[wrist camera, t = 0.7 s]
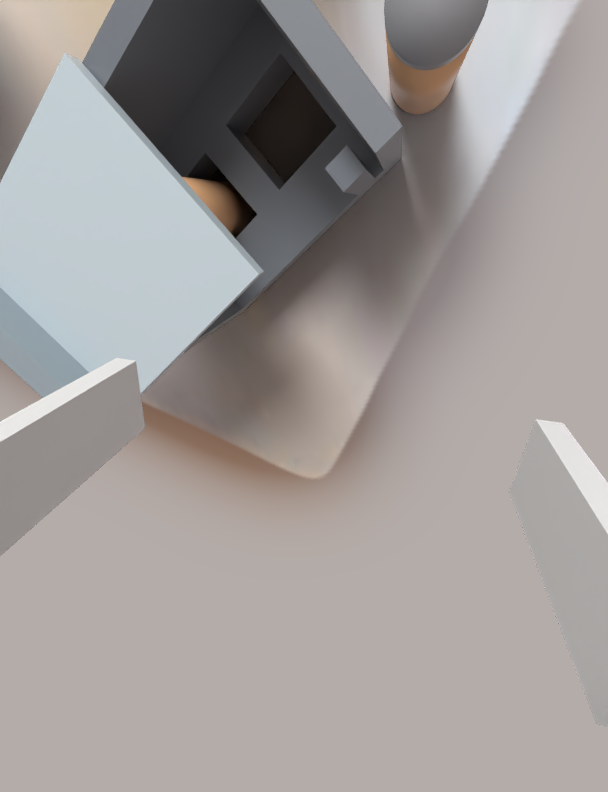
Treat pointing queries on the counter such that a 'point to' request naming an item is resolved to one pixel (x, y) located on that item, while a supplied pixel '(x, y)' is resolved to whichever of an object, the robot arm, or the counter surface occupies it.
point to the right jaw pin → (428, 48)
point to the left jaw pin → (223, 203)
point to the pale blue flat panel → (104, 245)
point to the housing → (248, 111)
